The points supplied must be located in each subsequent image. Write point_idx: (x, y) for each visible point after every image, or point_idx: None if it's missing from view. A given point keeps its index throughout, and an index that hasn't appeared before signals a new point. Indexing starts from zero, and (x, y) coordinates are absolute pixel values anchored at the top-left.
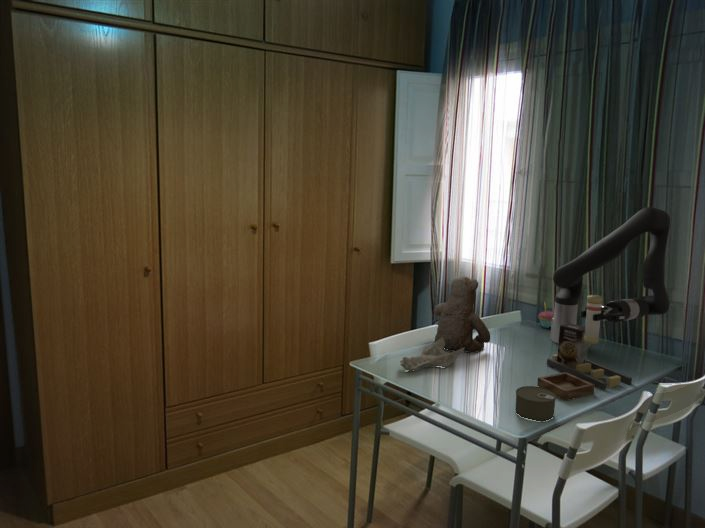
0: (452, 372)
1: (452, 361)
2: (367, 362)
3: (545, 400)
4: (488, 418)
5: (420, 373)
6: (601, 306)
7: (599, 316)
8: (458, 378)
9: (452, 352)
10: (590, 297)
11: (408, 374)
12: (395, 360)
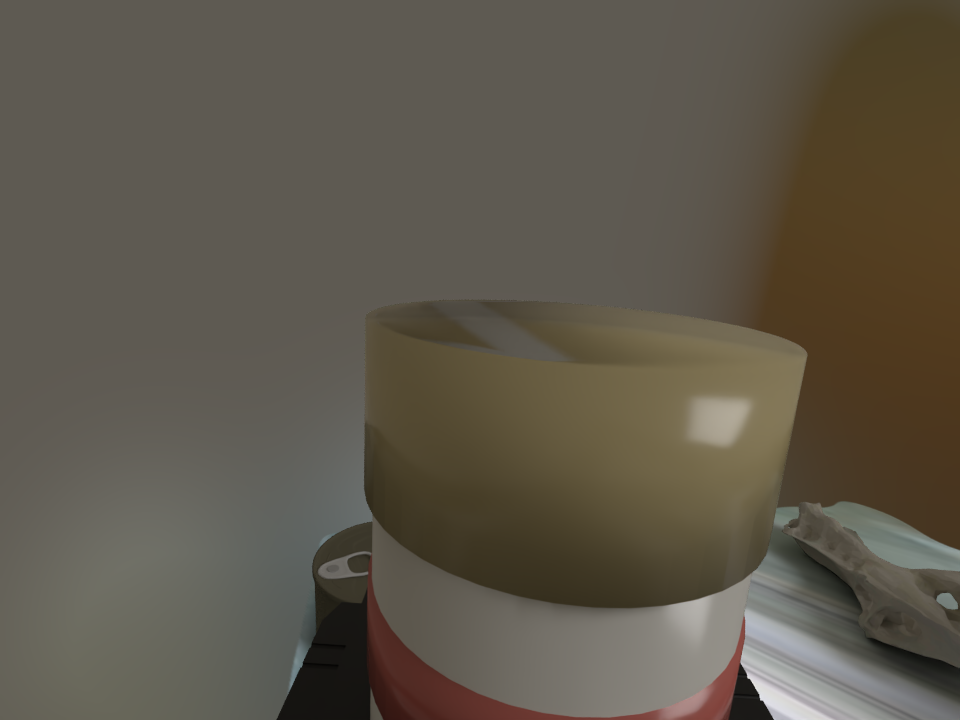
0: (821, 637)
1: (901, 644)
2: (879, 519)
3: (333, 550)
4: None
5: (796, 565)
6: (383, 612)
7: (314, 639)
8: (750, 621)
9: (905, 603)
10: (538, 304)
11: (783, 543)
12: (926, 567)
